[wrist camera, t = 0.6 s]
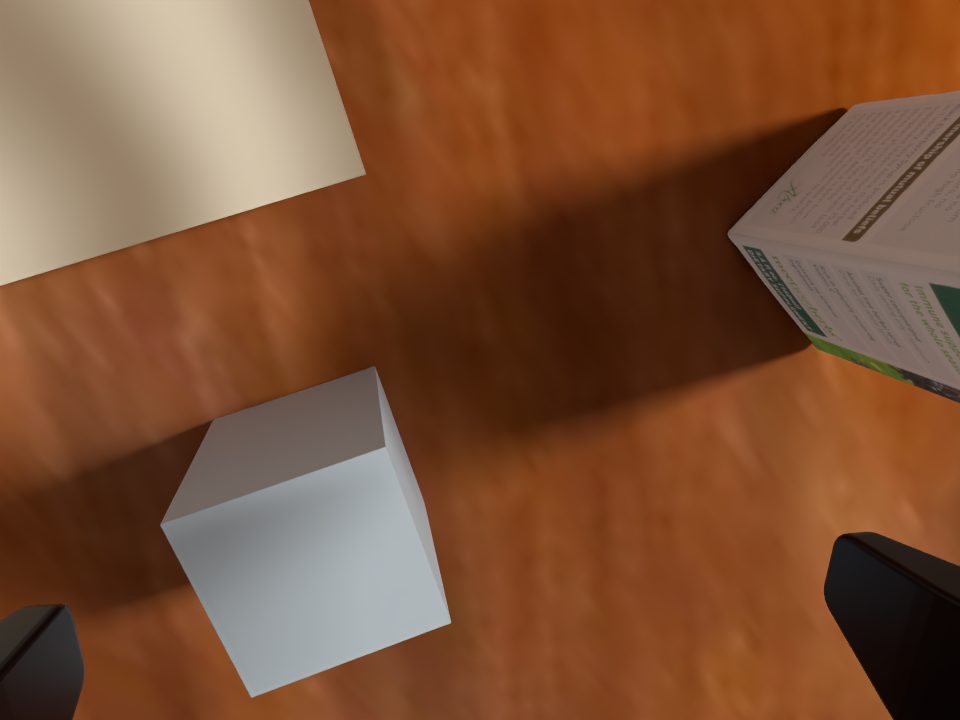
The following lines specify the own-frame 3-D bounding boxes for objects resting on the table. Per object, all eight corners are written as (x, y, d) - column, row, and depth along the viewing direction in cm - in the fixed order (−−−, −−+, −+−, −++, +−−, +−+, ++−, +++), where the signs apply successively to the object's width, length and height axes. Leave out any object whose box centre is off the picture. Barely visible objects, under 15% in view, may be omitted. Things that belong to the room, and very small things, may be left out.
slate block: (276, 554, 21) (251, 697, 16) (213, 419, 20) (160, 524, 14) (424, 502, 22) (450, 622, 16) (374, 365, 20) (385, 446, 14)
